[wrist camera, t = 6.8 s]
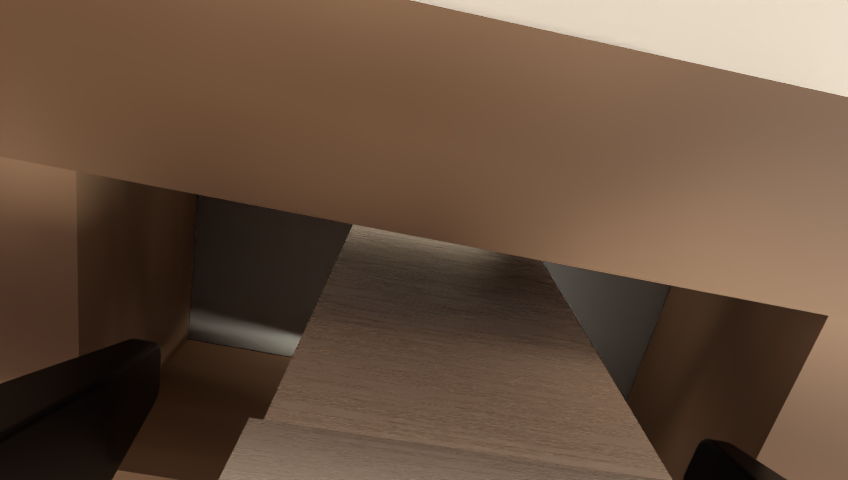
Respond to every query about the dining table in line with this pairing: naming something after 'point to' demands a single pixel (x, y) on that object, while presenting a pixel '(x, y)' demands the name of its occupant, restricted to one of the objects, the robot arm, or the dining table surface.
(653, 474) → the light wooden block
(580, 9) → the dining table surface
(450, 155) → the well board
